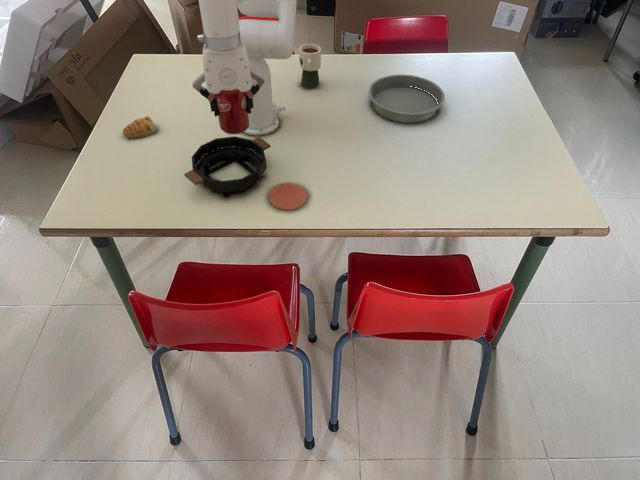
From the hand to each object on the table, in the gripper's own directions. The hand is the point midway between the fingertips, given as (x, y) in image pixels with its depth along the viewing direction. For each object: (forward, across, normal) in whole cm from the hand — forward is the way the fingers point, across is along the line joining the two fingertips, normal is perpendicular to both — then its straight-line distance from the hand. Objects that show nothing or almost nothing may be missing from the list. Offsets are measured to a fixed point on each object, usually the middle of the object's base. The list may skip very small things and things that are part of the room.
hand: (232, 111), depth 114 cm
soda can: (+5, 0, 0) cm, 5 cm away
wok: (+21, -3, +2) cm, 22 cm away
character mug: (+22, +26, +47) cm, 58 cm away
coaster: (+21, +12, -9) cm, 26 cm away
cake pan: (+22, +55, +30) cm, 67 cm away
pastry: (+22, -29, +27) cm, 45 cm away
